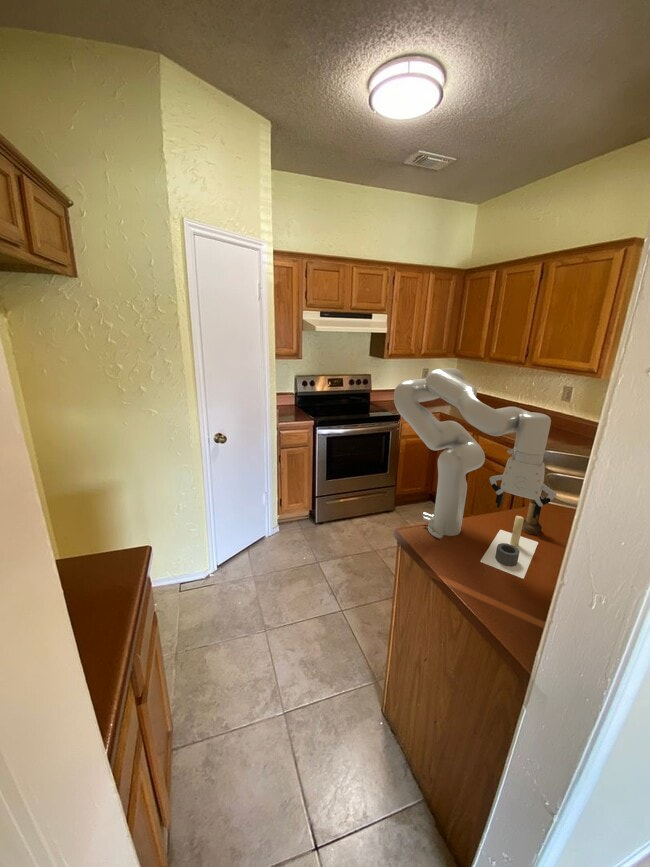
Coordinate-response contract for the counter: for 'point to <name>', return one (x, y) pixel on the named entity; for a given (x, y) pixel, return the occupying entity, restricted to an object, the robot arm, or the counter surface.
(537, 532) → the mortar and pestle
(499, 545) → the ring
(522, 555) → the post board
